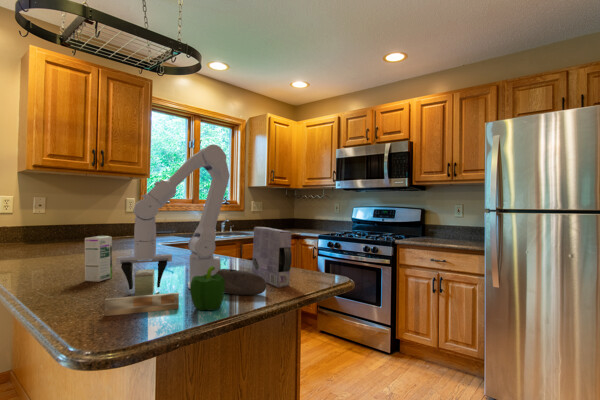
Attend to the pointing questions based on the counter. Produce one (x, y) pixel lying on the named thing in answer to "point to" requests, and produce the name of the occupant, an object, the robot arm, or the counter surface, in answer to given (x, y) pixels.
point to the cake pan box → (272, 255)
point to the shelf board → (141, 304)
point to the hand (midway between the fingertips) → (144, 287)
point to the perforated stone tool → (242, 282)
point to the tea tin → (144, 282)
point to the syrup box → (98, 258)
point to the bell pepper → (207, 291)
